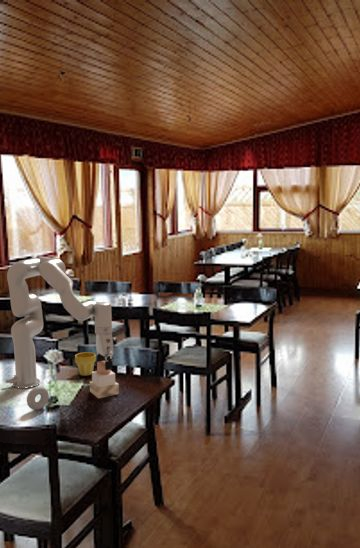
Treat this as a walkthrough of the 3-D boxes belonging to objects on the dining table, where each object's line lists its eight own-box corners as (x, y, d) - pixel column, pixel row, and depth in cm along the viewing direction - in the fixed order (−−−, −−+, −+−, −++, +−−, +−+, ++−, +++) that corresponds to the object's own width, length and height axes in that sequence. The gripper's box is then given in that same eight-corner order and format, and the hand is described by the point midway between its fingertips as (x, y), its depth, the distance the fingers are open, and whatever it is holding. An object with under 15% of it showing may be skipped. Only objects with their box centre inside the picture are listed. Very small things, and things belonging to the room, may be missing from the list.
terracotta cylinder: (100, 375, 245) (100, 365, 244) (95, 371, 250) (95, 362, 249) (112, 372, 248) (112, 363, 247) (107, 369, 253) (107, 359, 252)
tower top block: (98, 387, 243) (98, 376, 243) (92, 382, 250) (91, 371, 250) (115, 384, 247) (115, 373, 247) (108, 379, 254) (108, 368, 253)
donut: (29, 414, 226) (28, 390, 225) (25, 411, 229) (24, 388, 227) (51, 407, 233) (50, 384, 232) (46, 405, 236) (45, 382, 234)
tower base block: (98, 399, 243) (98, 388, 243) (89, 392, 252) (89, 381, 251) (119, 394, 248) (118, 384, 248) (110, 388, 257) (109, 377, 256)
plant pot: (75, 371, 281) (74, 352, 280) (96, 369, 283) (95, 351, 282) (75, 377, 271) (75, 358, 270) (96, 376, 273) (96, 357, 272)
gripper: (119, 332, 241) (120, 370, 243) (103, 325, 256) (105, 360, 258) (103, 335, 237) (104, 373, 240) (88, 327, 252) (89, 363, 254)
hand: (104, 366), depth 249 cm, fingers open, 9 cm apart
